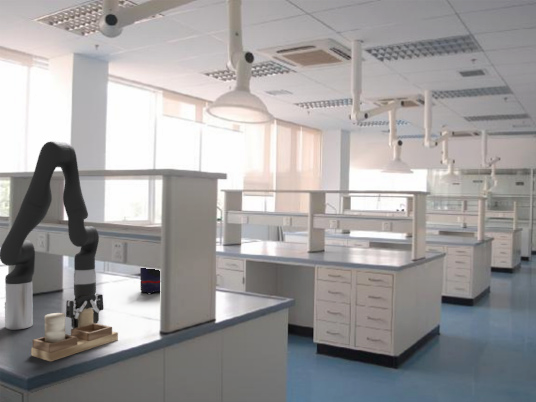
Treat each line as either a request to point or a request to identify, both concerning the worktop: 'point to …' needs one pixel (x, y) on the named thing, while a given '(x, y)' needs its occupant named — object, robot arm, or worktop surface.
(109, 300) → the worktop surface
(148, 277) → the navy upright block
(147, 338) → the worktop surface
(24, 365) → the worktop surface
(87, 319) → the candle
